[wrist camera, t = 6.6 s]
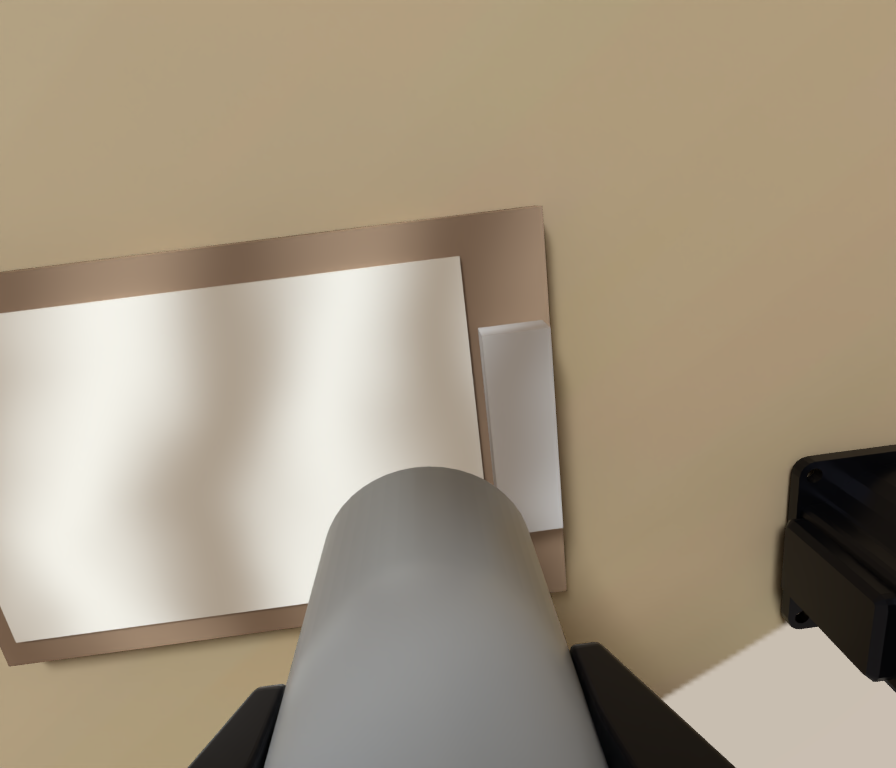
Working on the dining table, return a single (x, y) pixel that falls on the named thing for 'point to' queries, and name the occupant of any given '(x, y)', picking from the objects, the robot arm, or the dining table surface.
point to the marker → (432, 640)
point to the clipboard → (255, 419)
